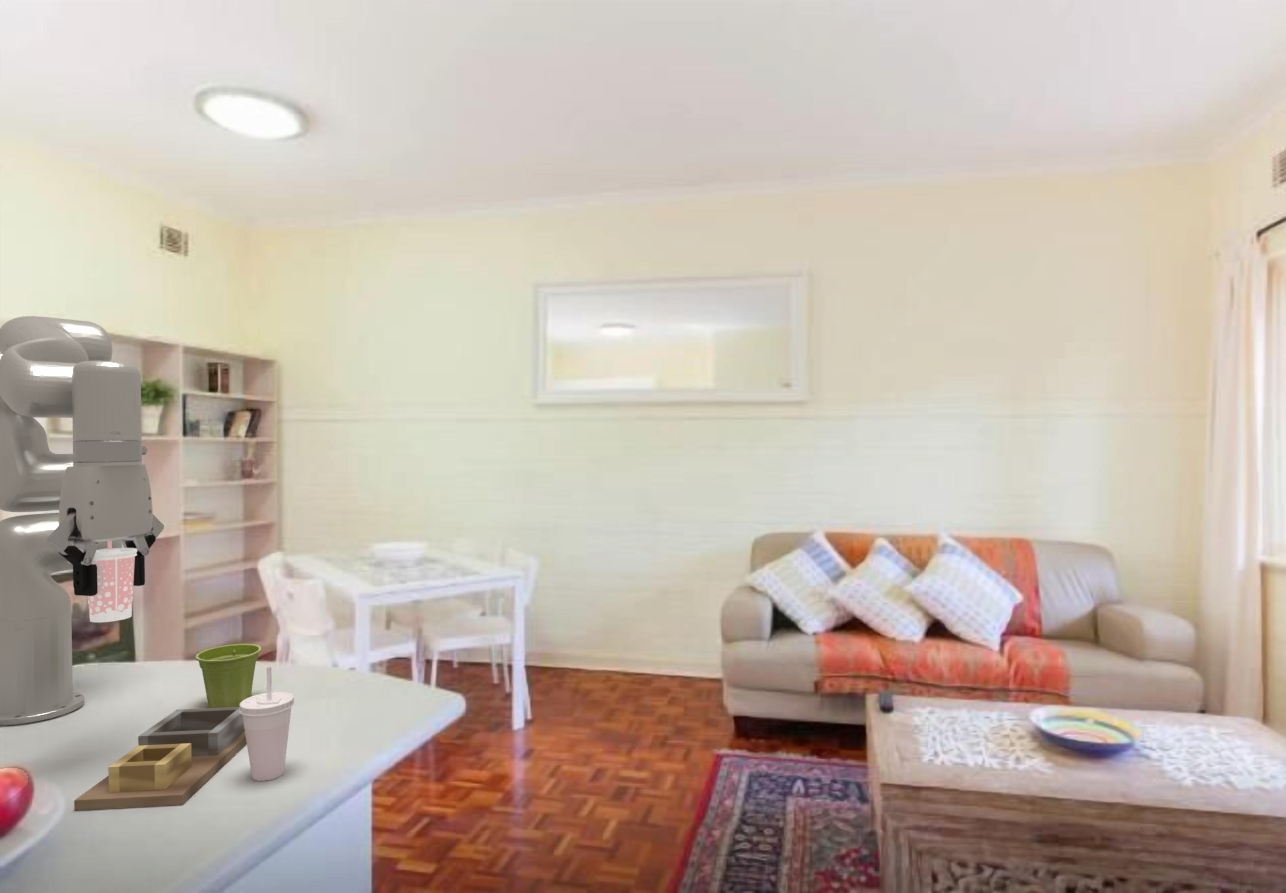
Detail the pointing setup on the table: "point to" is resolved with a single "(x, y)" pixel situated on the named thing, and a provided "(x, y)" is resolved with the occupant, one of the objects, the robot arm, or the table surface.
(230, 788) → the table surface
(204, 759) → the fitting board
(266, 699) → the smoothie
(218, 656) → the plant pot
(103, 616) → the beverage cup
